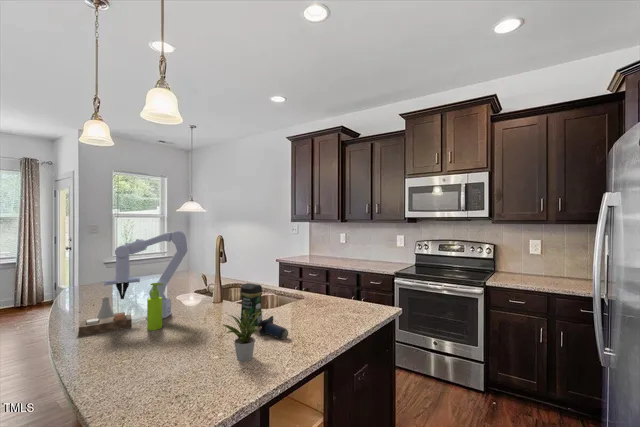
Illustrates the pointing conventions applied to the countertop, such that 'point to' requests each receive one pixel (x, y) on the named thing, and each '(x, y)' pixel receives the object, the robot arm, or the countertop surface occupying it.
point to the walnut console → (105, 325)
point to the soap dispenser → (154, 309)
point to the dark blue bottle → (272, 329)
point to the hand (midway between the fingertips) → (122, 298)
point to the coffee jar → (251, 302)
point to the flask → (105, 309)
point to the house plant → (244, 337)
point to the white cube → (92, 321)
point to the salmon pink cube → (119, 316)
